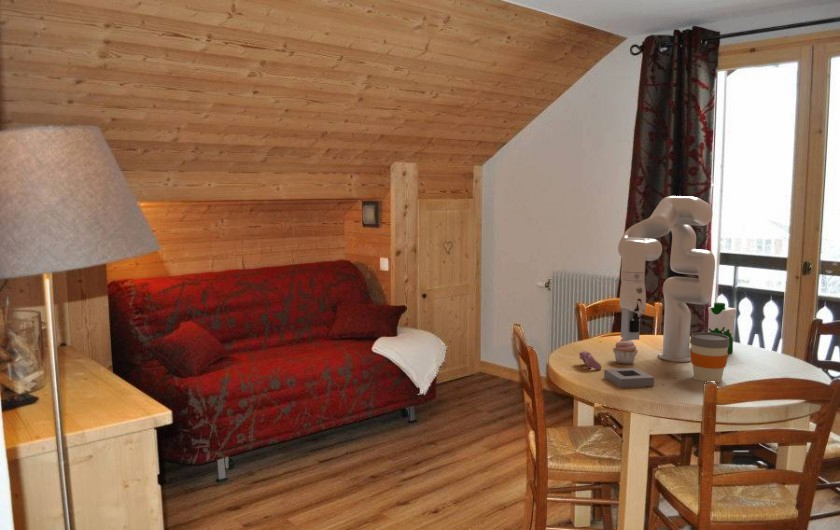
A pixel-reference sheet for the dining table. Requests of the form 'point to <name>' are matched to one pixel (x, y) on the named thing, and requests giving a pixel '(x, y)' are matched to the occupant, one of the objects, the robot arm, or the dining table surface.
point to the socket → (628, 377)
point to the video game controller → (589, 360)
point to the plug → (626, 324)
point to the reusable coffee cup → (709, 355)
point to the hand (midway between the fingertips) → (630, 330)
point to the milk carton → (722, 322)
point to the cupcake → (625, 351)
